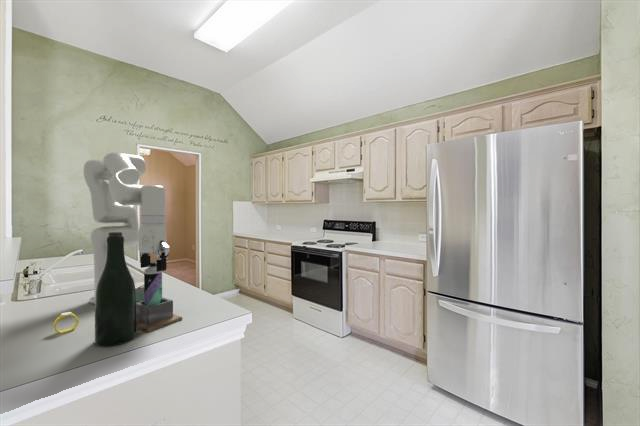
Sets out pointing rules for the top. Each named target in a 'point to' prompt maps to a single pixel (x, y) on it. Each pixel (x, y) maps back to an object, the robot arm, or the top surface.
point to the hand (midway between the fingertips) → (153, 268)
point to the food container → (139, 294)
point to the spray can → (152, 285)
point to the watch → (65, 316)
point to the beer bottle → (115, 297)
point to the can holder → (155, 315)
